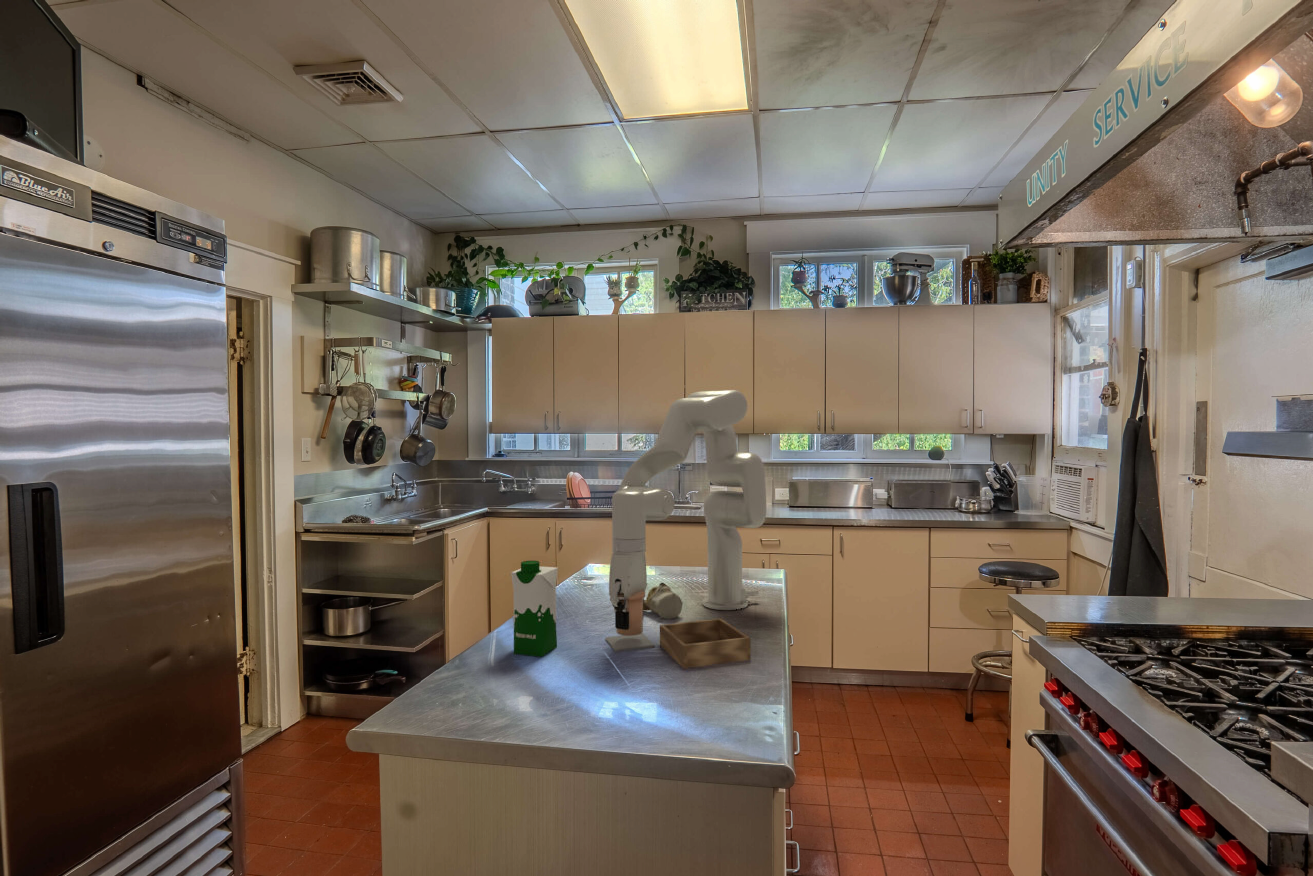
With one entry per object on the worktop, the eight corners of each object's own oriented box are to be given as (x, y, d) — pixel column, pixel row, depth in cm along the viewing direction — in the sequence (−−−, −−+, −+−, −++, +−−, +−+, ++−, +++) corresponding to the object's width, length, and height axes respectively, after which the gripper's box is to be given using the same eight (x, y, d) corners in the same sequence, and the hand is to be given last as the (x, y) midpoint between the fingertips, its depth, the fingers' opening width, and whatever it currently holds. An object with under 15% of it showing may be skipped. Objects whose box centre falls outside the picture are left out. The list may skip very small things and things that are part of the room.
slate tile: (642, 637, 153) (642, 633, 153) (654, 649, 144) (654, 645, 144) (605, 641, 150) (605, 637, 150) (615, 654, 141) (615, 649, 141)
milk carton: (507, 654, 142) (506, 563, 141) (528, 642, 150) (528, 555, 150) (543, 659, 139) (542, 565, 138) (563, 645, 147) (562, 557, 147)
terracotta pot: (640, 625, 152) (639, 587, 151) (649, 634, 145) (649, 594, 145) (610, 628, 149) (609, 589, 149) (618, 638, 142) (618, 597, 142)
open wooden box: (721, 640, 150) (721, 618, 150) (750, 661, 136) (750, 638, 136) (659, 647, 146) (659, 625, 146) (683, 670, 131) (683, 646, 131)
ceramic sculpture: (655, 589, 163) (631, 580, 177) (656, 624, 163) (632, 612, 176) (692, 584, 168) (666, 576, 181) (693, 618, 167) (667, 608, 181)
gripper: (632, 538, 156) (633, 613, 156) (594, 550, 141) (595, 633, 141) (660, 540, 153) (661, 617, 153) (624, 553, 137) (625, 638, 138)
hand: (629, 624), depth 147 cm, fingers closed on terracotta pot, 6 cm apart
